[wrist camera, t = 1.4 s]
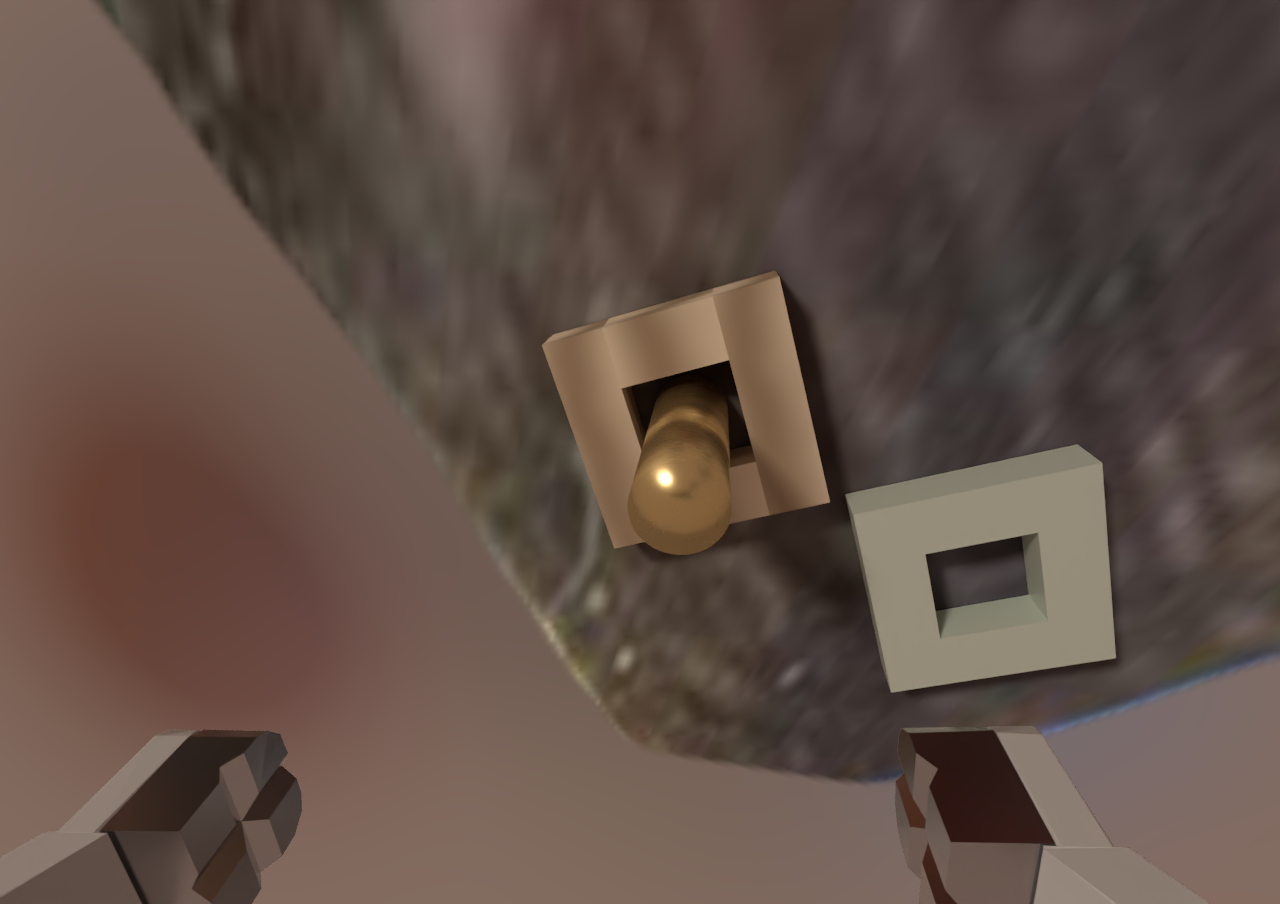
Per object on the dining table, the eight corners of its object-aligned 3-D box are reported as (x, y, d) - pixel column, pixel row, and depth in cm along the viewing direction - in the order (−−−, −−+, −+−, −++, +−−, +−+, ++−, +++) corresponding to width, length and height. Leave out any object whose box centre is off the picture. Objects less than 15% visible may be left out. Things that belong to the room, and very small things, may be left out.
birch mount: (775, 270, 34) (779, 277, 31) (823, 482, 38) (830, 502, 35) (553, 334, 36) (542, 345, 34) (620, 527, 40) (614, 548, 38)
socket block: (1077, 444, 35) (1102, 463, 33) (1092, 629, 39) (1115, 658, 37) (845, 494, 38) (853, 514, 36) (881, 664, 42) (890, 692, 40)
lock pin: (717, 366, 36) (716, 450, 25) (735, 434, 37) (742, 543, 26) (645, 385, 37) (613, 475, 26) (666, 451, 38) (644, 563, 27)
